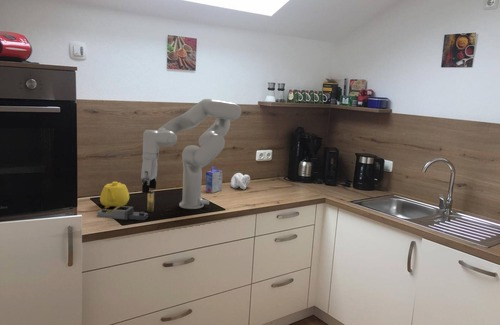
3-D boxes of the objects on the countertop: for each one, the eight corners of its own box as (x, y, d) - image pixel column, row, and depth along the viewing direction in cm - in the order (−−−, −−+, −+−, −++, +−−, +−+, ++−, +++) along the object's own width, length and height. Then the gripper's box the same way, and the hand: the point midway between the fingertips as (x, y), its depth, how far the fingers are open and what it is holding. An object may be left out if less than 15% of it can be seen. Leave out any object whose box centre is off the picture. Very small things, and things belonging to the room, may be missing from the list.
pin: (154, 210, 205) (154, 190, 204) (152, 212, 202) (152, 192, 201) (148, 209, 206) (148, 190, 204) (146, 211, 203) (146, 191, 201)
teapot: (94, 211, 198) (93, 186, 196) (107, 200, 218) (107, 177, 215) (122, 213, 198) (122, 187, 196) (133, 201, 218) (133, 178, 216)
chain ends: (148, 216, 196) (149, 208, 195) (143, 221, 189) (143, 212, 188) (103, 212, 198) (103, 204, 197) (96, 216, 191) (96, 208, 190)
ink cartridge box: (215, 188, 254) (215, 165, 252) (222, 190, 252) (223, 166, 249) (204, 191, 246) (205, 167, 244) (212, 193, 243) (213, 169, 241)
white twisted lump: (244, 185, 267) (245, 171, 265) (253, 189, 257) (254, 175, 255) (228, 186, 261) (229, 172, 260) (237, 191, 251) (238, 176, 250)
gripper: (149, 152, 208) (147, 186, 211) (136, 157, 191) (134, 193, 194) (163, 154, 207) (162, 187, 210) (152, 159, 190) (150, 195, 193)
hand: (149, 190), depth 202 cm, fingers open, 9 cm apart
